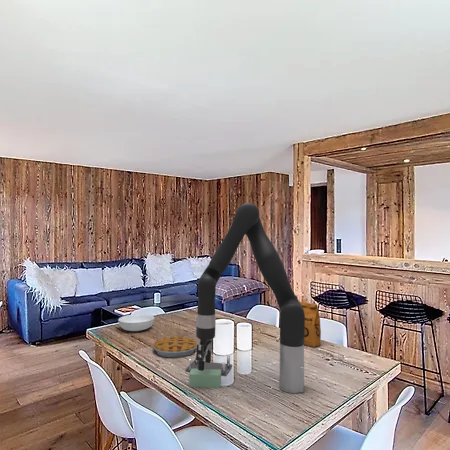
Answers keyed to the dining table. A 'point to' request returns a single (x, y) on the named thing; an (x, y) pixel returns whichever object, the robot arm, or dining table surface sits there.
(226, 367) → the chassis
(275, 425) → the dining table surface
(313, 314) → the coffee package
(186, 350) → the pie
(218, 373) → the board
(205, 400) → the dining table surface
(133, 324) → the serving bowl
